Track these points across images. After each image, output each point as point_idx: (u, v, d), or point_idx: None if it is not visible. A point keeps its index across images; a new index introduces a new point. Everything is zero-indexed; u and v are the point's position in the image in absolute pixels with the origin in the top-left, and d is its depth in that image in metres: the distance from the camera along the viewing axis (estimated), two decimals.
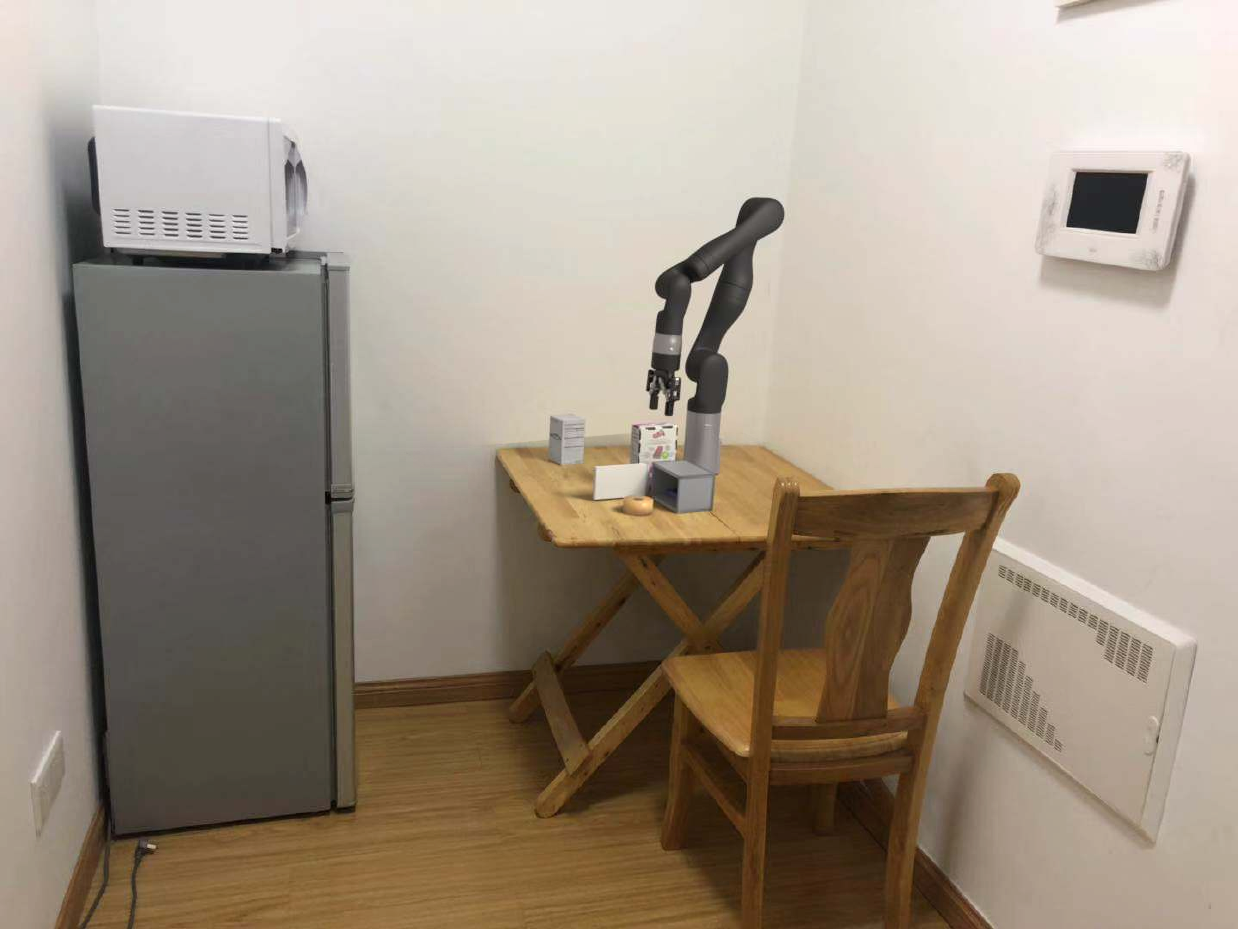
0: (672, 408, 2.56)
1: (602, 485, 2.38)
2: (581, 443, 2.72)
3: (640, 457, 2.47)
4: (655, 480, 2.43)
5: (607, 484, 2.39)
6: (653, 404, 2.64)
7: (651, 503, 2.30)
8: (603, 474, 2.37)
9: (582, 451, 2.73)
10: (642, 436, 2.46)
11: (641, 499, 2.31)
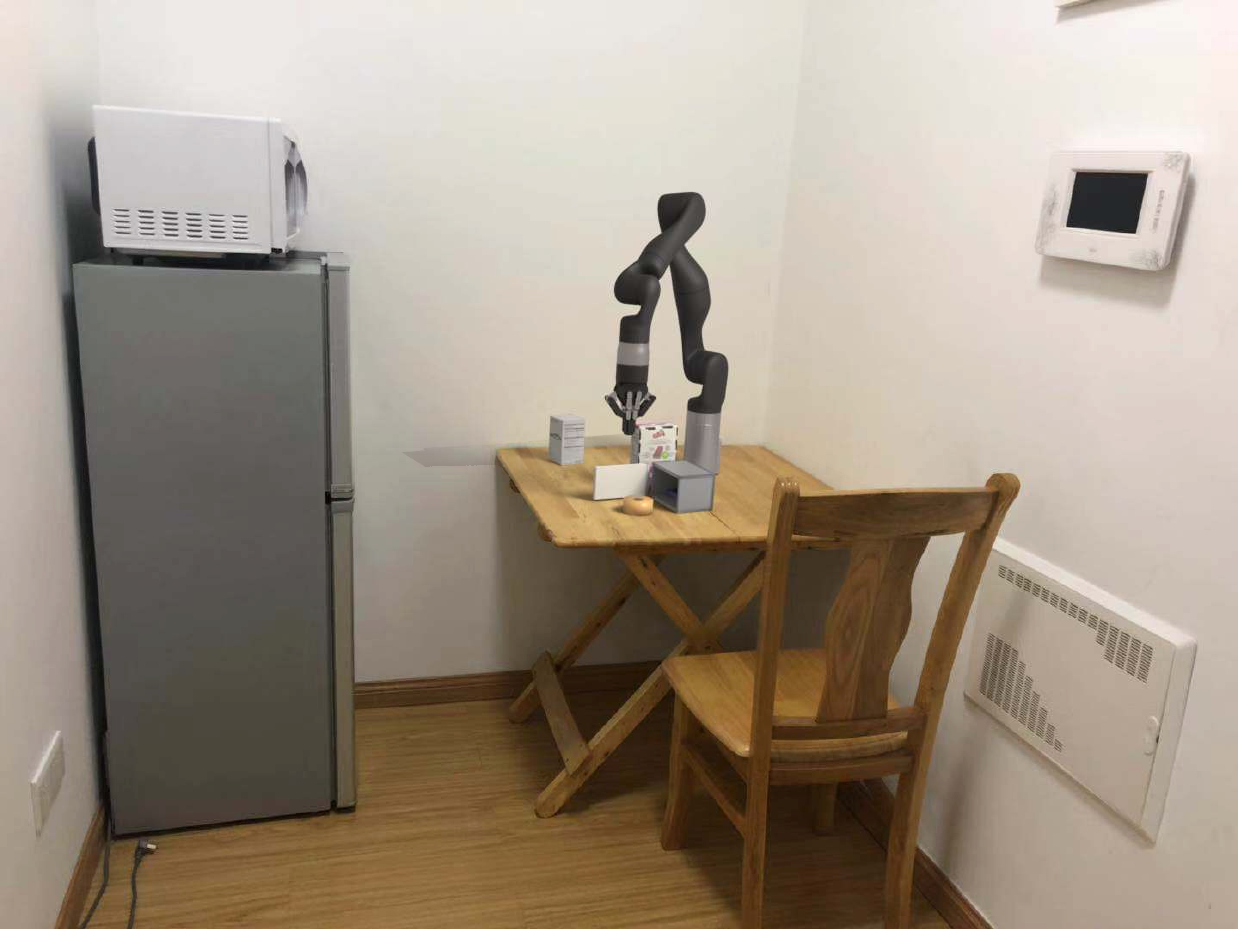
0: None
1: (602, 485, 2.38)
2: (581, 443, 2.72)
3: (640, 457, 2.47)
4: (655, 480, 2.43)
5: (607, 484, 2.39)
6: None
7: (651, 503, 2.30)
8: (603, 474, 2.37)
9: (582, 451, 2.73)
10: (642, 436, 2.46)
11: (641, 499, 2.31)
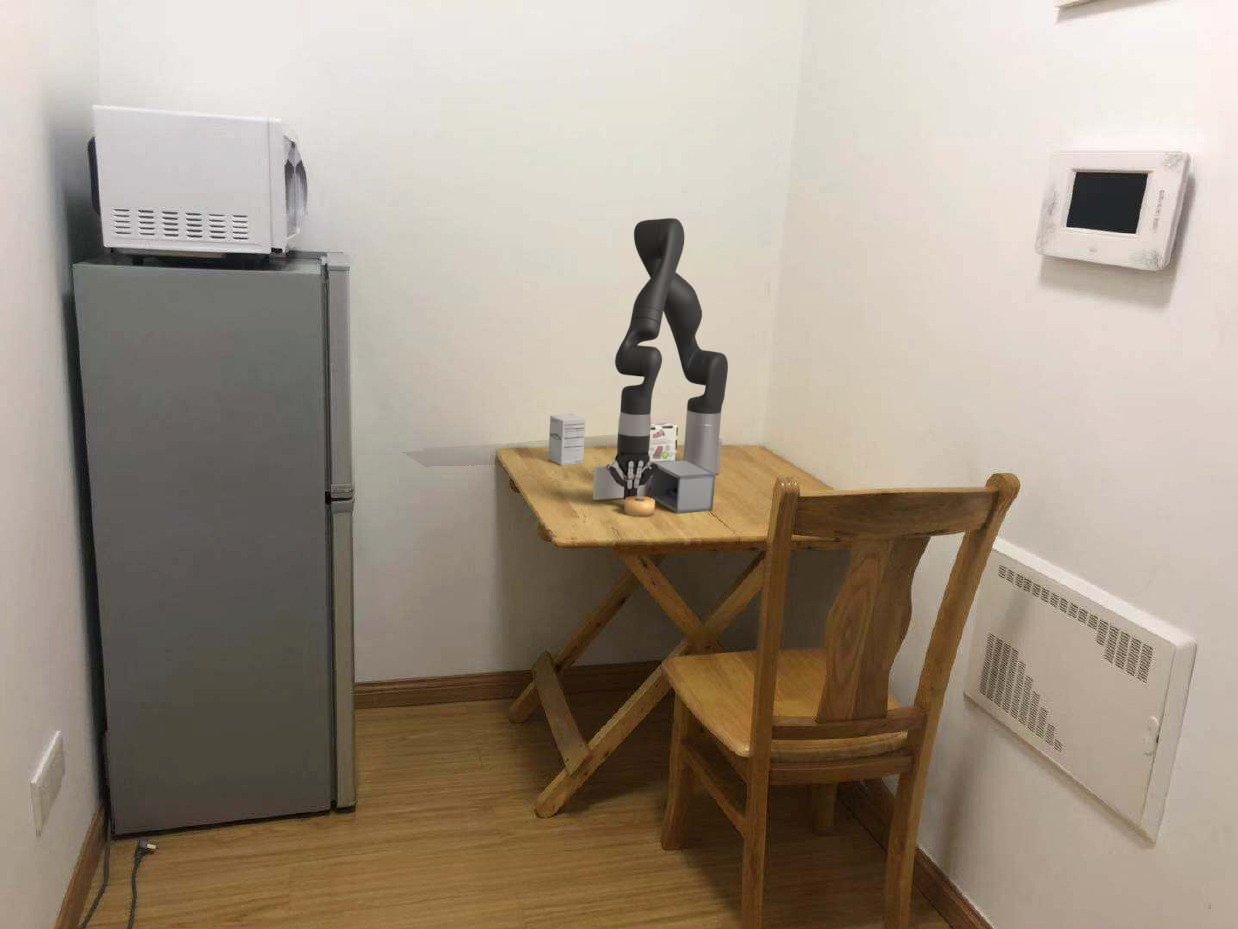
0: None
1: (602, 485, 2.38)
2: (581, 443, 2.72)
3: None
4: (655, 480, 2.43)
5: (607, 484, 2.39)
6: None
7: (653, 504, 2.29)
8: (603, 474, 2.37)
9: (582, 451, 2.73)
10: None
11: (643, 500, 2.31)
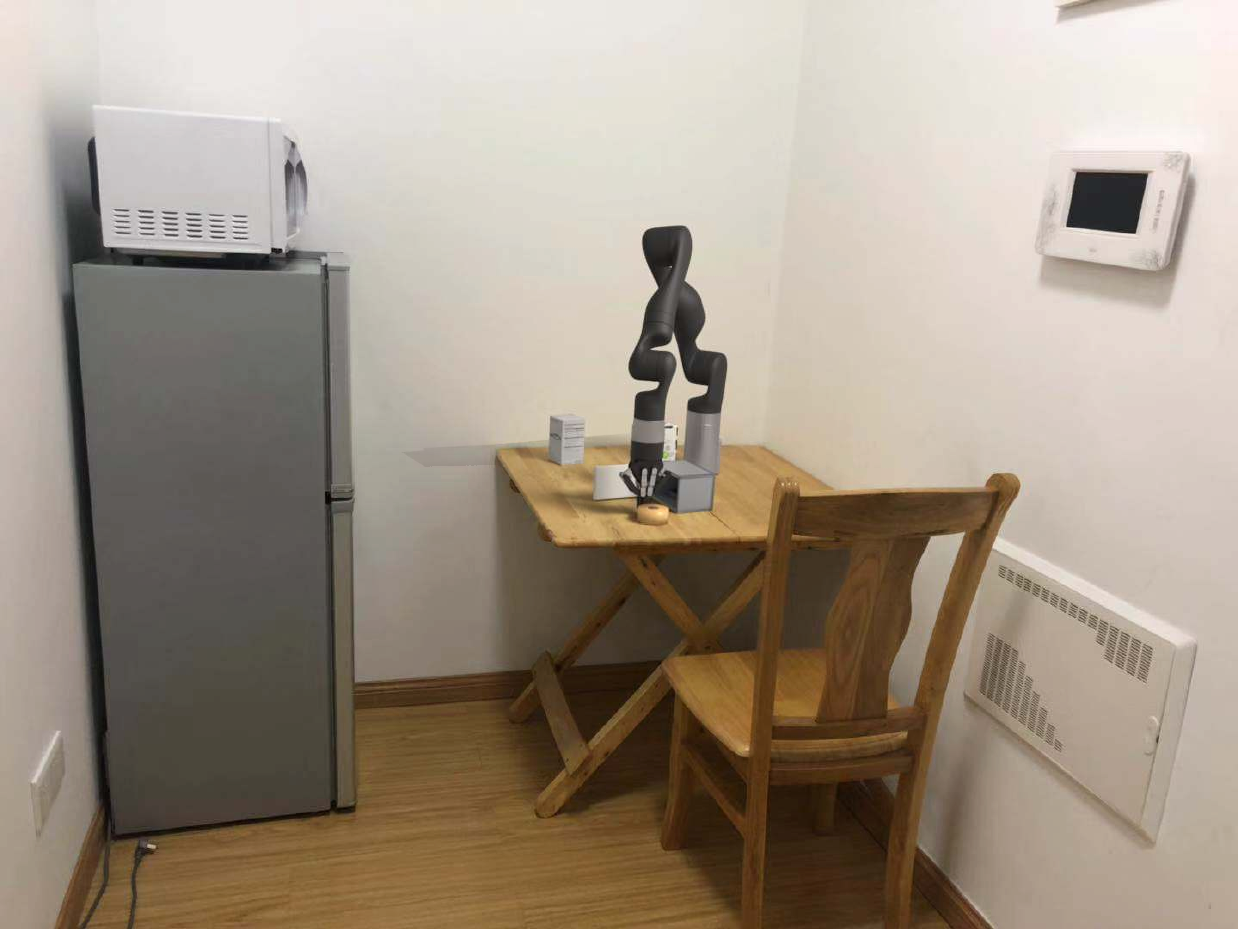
0: None
1: (602, 485, 2.38)
2: (581, 443, 2.72)
3: None
4: None
5: (607, 484, 2.39)
6: None
7: (666, 512, 2.24)
8: (603, 474, 2.37)
9: (582, 451, 2.73)
10: None
11: (656, 508, 2.25)
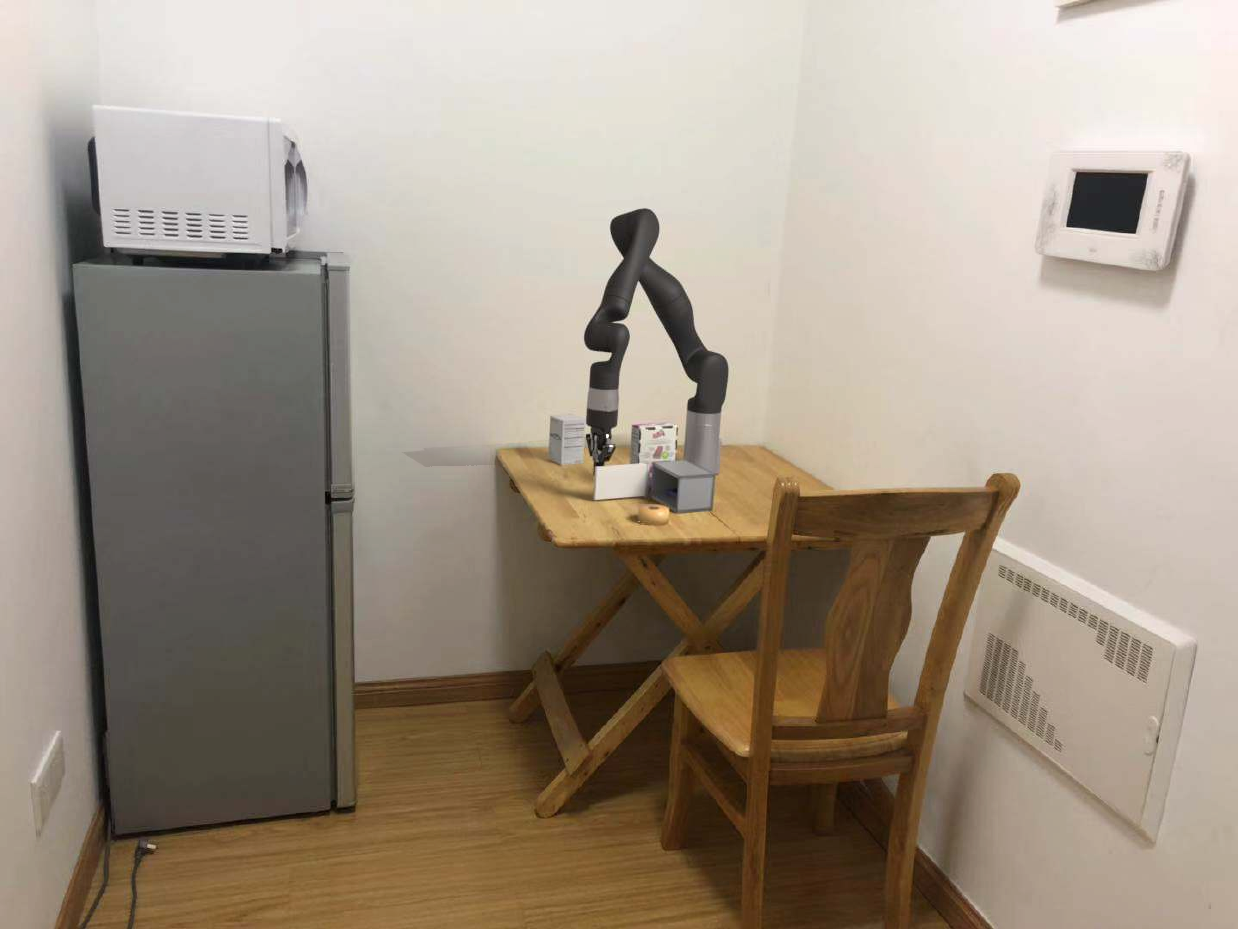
0: None
1: (602, 485, 2.38)
2: (581, 443, 2.72)
3: (640, 457, 2.47)
4: (655, 480, 2.43)
5: (607, 485, 2.38)
6: None
7: (667, 512, 2.24)
8: (603, 474, 2.37)
9: (582, 451, 2.73)
10: (642, 436, 2.46)
11: (657, 508, 2.25)
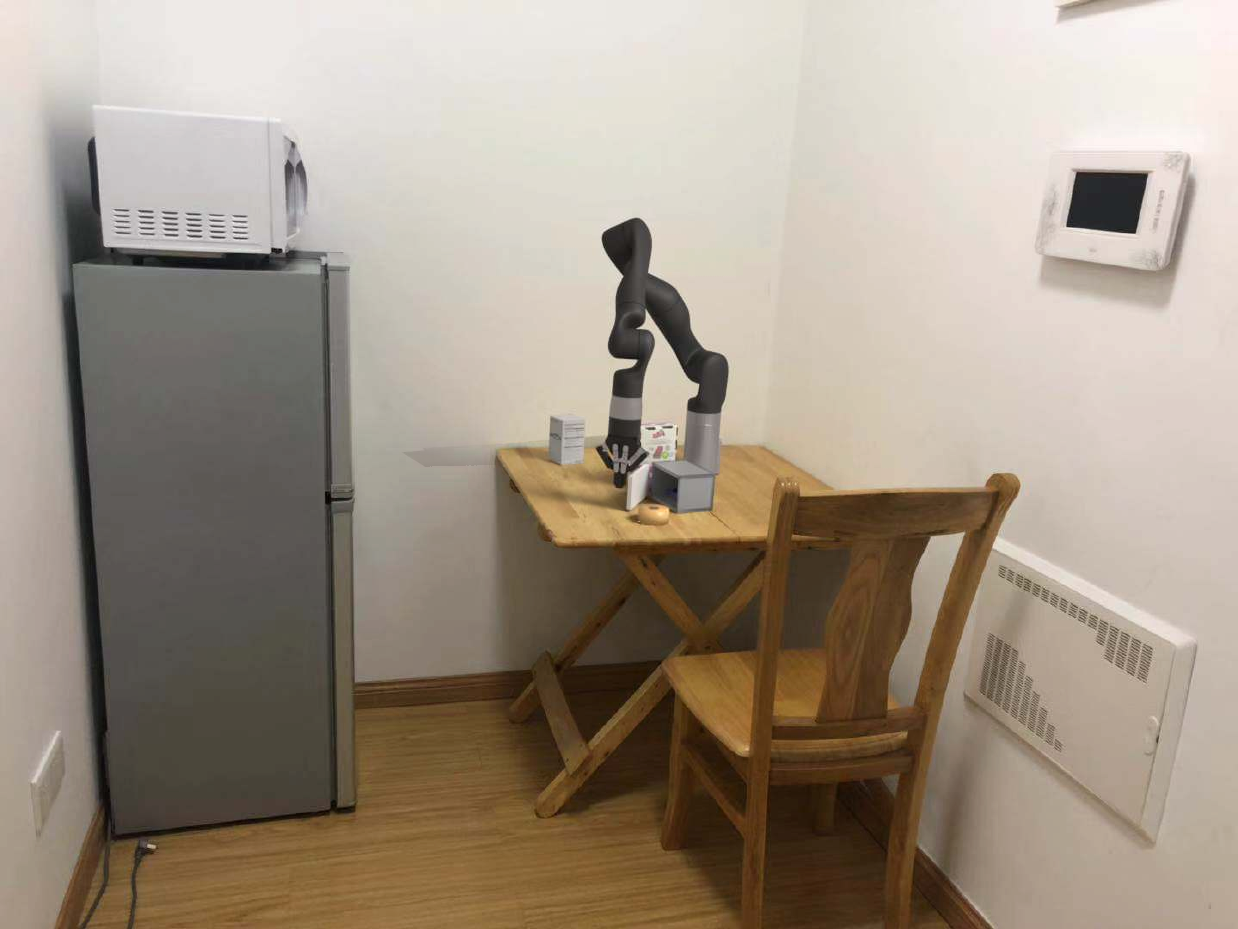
0: None
1: (633, 493, 2.32)
2: (581, 443, 2.72)
3: None
4: (655, 480, 2.43)
5: (635, 492, 2.33)
6: None
7: (667, 512, 2.24)
8: (634, 482, 2.32)
9: (582, 451, 2.73)
10: (642, 436, 2.46)
11: (657, 508, 2.25)
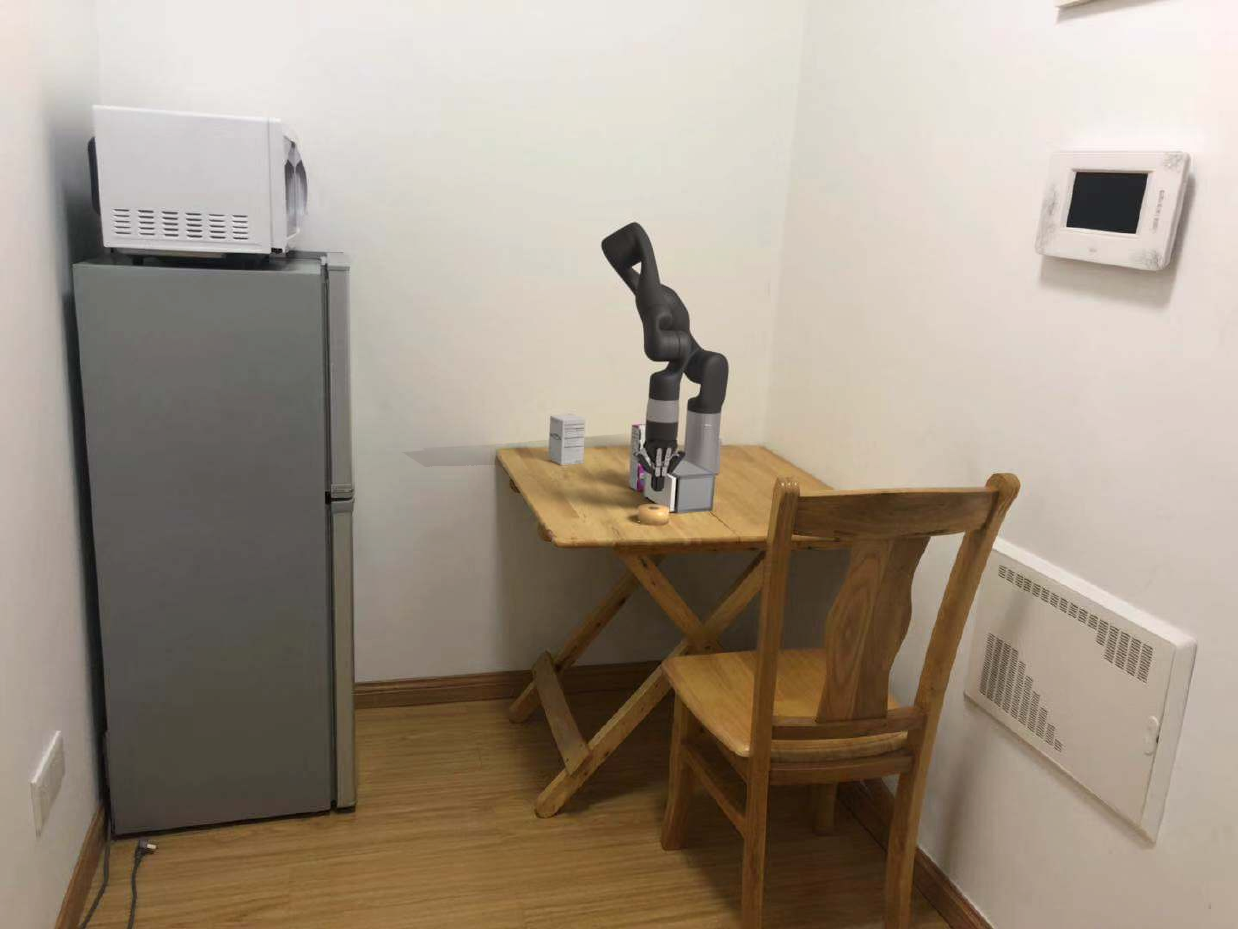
0: (653, 482, 2.30)
1: None
2: (581, 443, 2.72)
3: None
4: None
5: None
6: None
7: (667, 512, 2.24)
8: None
9: (582, 451, 2.73)
10: (642, 436, 2.46)
11: (657, 508, 2.25)
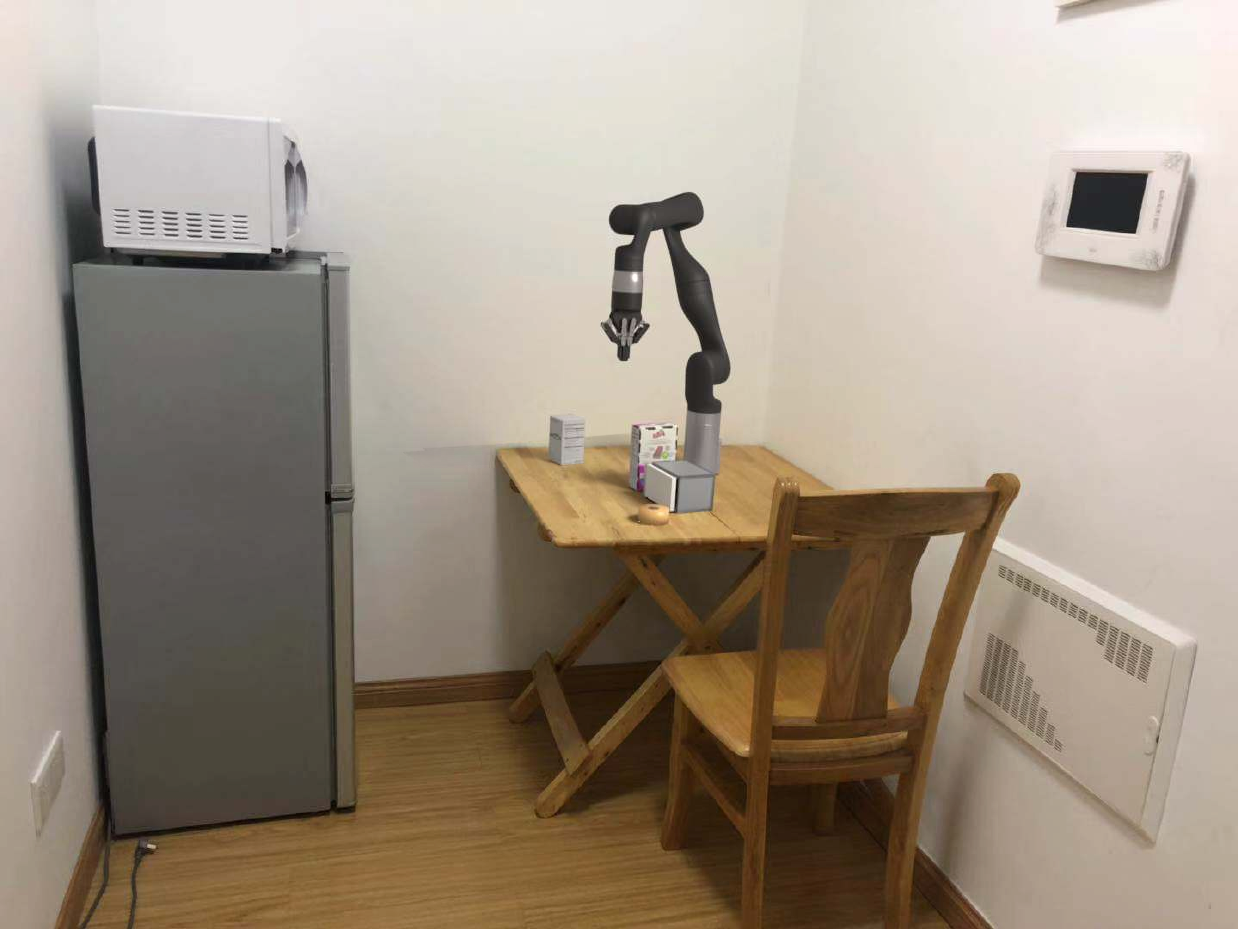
0: (619, 352, 2.44)
1: None
2: (581, 443, 2.72)
3: (640, 457, 2.47)
4: None
5: None
6: None
7: (667, 512, 2.24)
8: None
9: (582, 451, 2.73)
10: (642, 436, 2.46)
11: (657, 508, 2.25)
